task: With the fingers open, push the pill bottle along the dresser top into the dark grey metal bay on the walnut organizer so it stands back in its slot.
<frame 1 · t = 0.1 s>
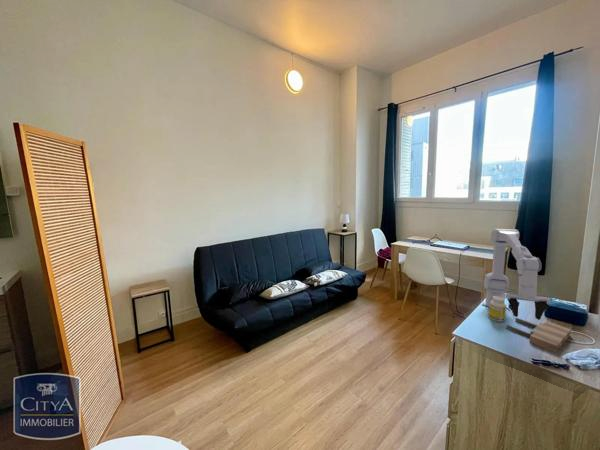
hand: (526, 317, 105), 11 cm above the table, tool pointing down, fingers open, 7 cm apart
pill bottle: (496, 319, 123), on the table
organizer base: (523, 328, 114), on the table
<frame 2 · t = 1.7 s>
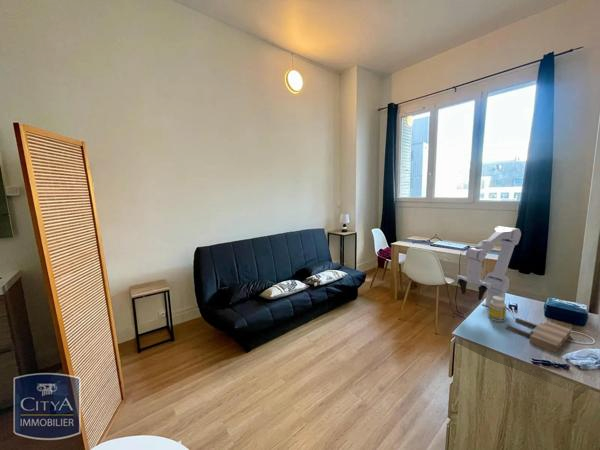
hand: (471, 296, 127), 9 cm above the table, tool pointing down, fingers open, 7 cm apart
nothing on the table moved.
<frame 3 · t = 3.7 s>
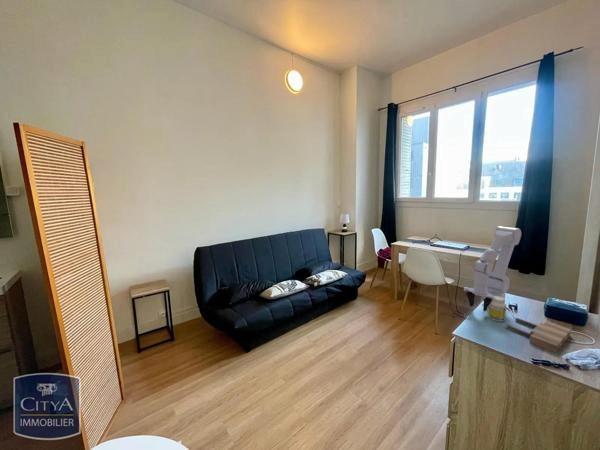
hand: (478, 308, 130), 2 cm above the table, tool pointing down, fingers open, 6 cm apart
pill bottle: (496, 319, 123), on the table, touching gripper
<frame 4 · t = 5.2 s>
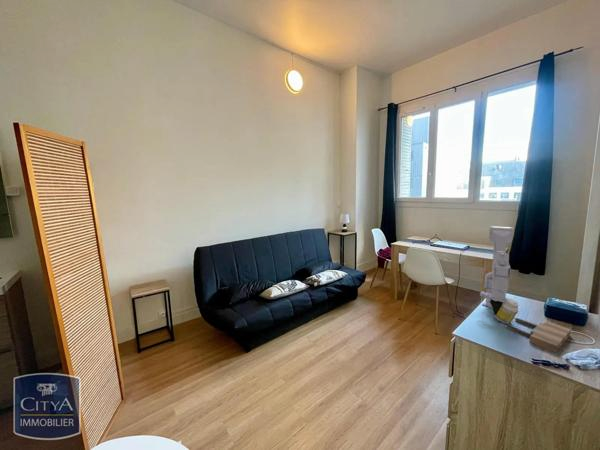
hand: (495, 314, 123), 2 cm above the table, tool pointing down, fingers closed, pressing on pill bottle
pill bottle: (502, 319, 121), point 1 cm above the table, touching gripper
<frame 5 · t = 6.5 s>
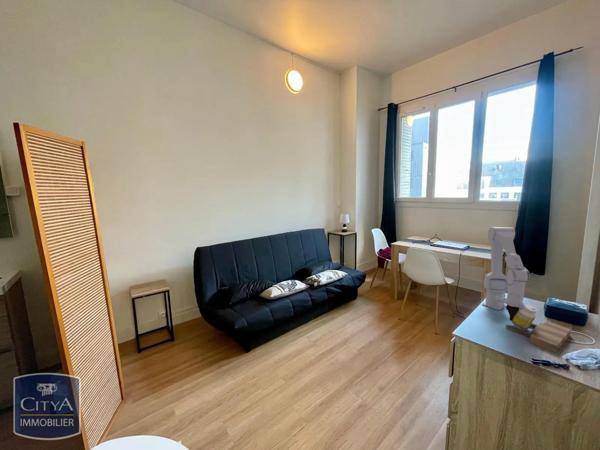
hand: (512, 320, 118), 2 cm above the table, tool pointing down, fingers closed, pressing on pill bottle
pill bottle: (518, 325, 116), point 1 cm above the table, touching gripper
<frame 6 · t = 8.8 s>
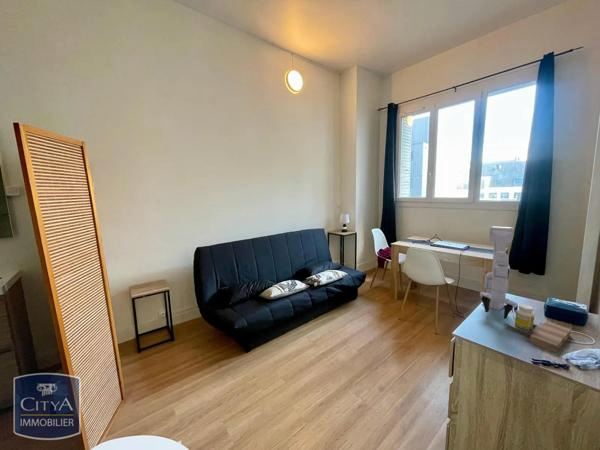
hand: (495, 314, 123), 2 cm above the table, tool pointing down, fingers open, 7 cm apart
pill bottle: (523, 329, 114), resting in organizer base
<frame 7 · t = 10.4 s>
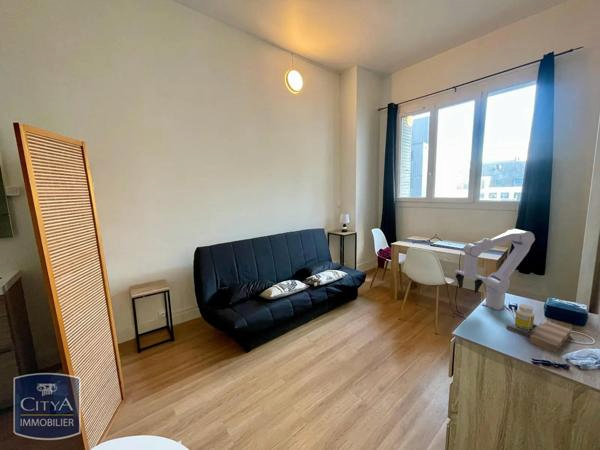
hand: (468, 289, 135), 9 cm above the table, tool pointing down, fingers open, 7 cm apart
nothing on the table moved.
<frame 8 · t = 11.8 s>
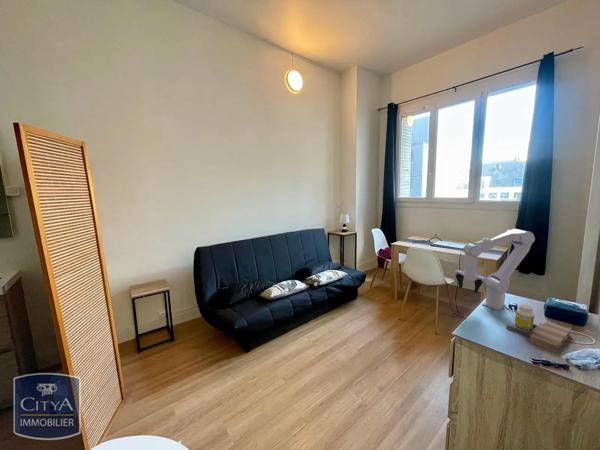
hand: (468, 289, 135), 9 cm above the table, tool pointing down, fingers open, 7 cm apart
nothing on the table moved.
at the end: pill bottle 0.1 cm off-centre on the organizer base, point 0.0 cm above the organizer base's base; pill bottle tilted 0° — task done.
